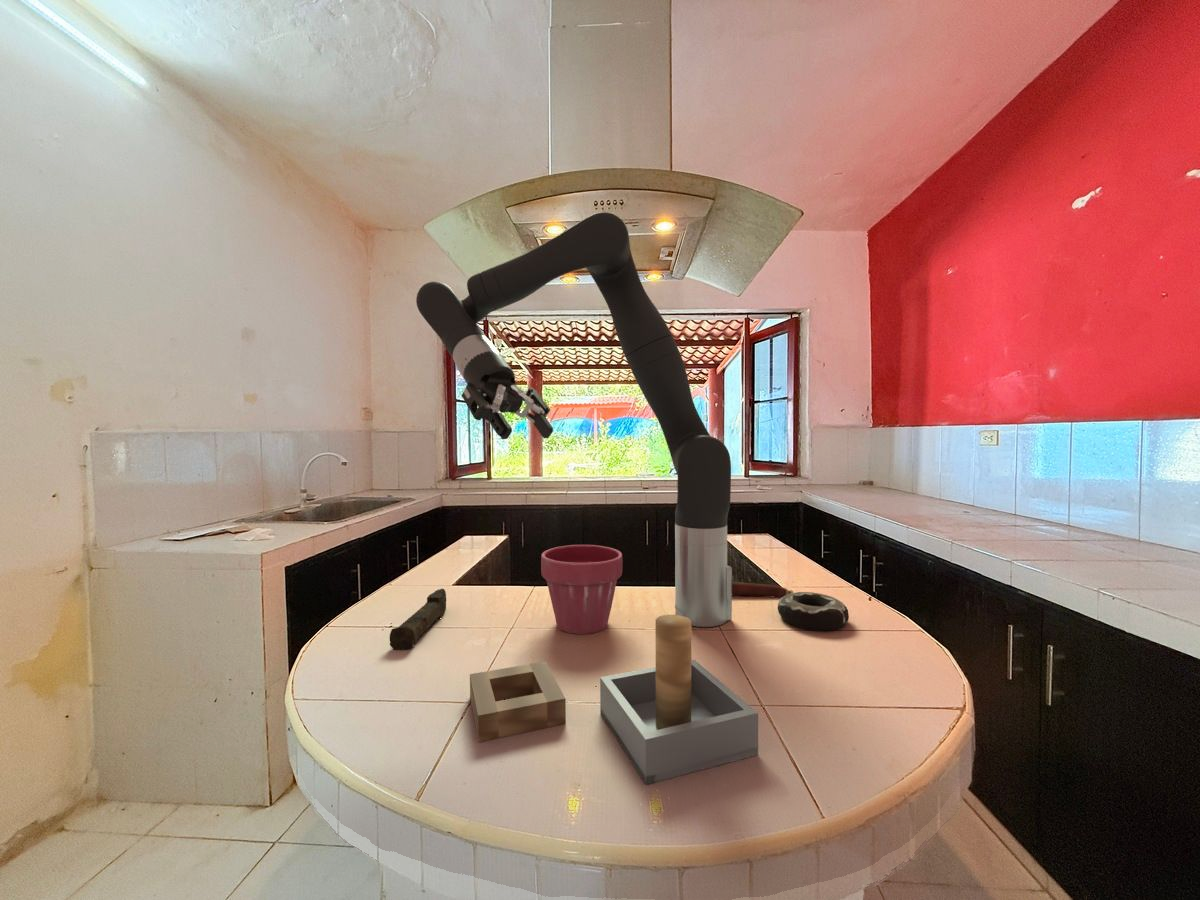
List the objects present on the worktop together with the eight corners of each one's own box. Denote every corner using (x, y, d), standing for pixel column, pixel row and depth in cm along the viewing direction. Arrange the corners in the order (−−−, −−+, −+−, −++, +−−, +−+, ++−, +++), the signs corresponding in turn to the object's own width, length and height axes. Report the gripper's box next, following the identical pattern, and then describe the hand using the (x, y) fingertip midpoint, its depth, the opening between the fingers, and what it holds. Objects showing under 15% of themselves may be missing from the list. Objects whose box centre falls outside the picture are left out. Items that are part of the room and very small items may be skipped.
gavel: (786, 574, 108) (802, 589, 98) (785, 595, 108) (800, 612, 98) (688, 567, 109) (694, 581, 99) (687, 588, 109) (692, 603, 99)
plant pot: (620, 609, 96) (619, 543, 95) (626, 640, 82) (625, 562, 81) (545, 610, 96) (544, 544, 95) (538, 641, 82) (537, 564, 81)
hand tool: (413, 652, 78) (412, 623, 78) (388, 651, 79) (388, 622, 79) (459, 610, 97) (458, 586, 97) (439, 609, 98) (438, 585, 97)
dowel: (680, 712, 59) (680, 612, 59) (698, 731, 56) (698, 625, 55) (649, 719, 58) (649, 617, 58) (665, 739, 54) (665, 630, 54)
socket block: (545, 683, 68) (545, 661, 68) (565, 723, 59) (565, 698, 59) (470, 696, 65) (469, 674, 65) (478, 742, 55) (478, 715, 55)
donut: (800, 637, 83) (800, 613, 83) (765, 611, 95) (766, 591, 94) (863, 632, 85) (864, 609, 85) (822, 607, 96) (822, 587, 96)
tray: (694, 693, 65) (694, 659, 65) (757, 754, 53) (758, 712, 53) (600, 713, 61) (600, 677, 61) (645, 784, 48) (645, 739, 48)
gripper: (455, 344, 78) (503, 417, 71) (525, 354, 89) (573, 418, 82) (437, 381, 81) (481, 453, 75) (506, 386, 92) (550, 450, 85)
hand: (529, 435), depth 78 cm, fingers open, 8 cm apart
